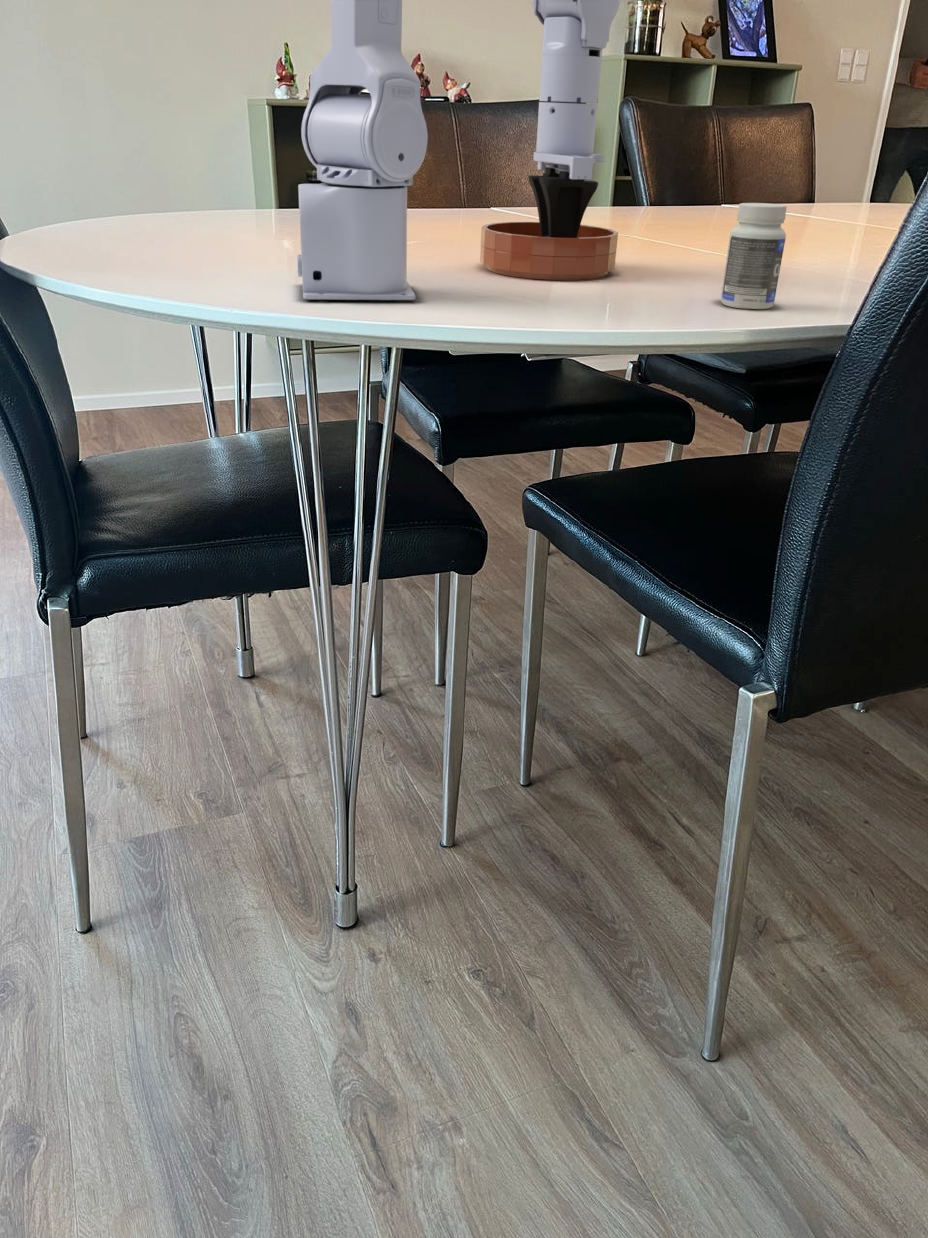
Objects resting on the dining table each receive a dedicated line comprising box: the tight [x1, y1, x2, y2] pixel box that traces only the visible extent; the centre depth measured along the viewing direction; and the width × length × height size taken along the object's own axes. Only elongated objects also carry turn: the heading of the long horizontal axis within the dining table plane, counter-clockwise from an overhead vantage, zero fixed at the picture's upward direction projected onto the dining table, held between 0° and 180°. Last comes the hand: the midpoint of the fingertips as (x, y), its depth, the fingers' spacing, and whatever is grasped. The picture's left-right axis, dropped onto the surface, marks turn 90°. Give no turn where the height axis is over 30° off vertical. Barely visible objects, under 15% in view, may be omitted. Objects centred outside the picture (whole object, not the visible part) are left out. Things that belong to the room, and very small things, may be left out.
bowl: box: [479, 221, 619, 281], centre depth 100 cm, size 14×14×4 cm
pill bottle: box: [720, 202, 787, 310], centre depth 85 cm, size 5×5×8 cm
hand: (557, 250), depth 100 cm, fingers closed on eraser, 3 cm apart
